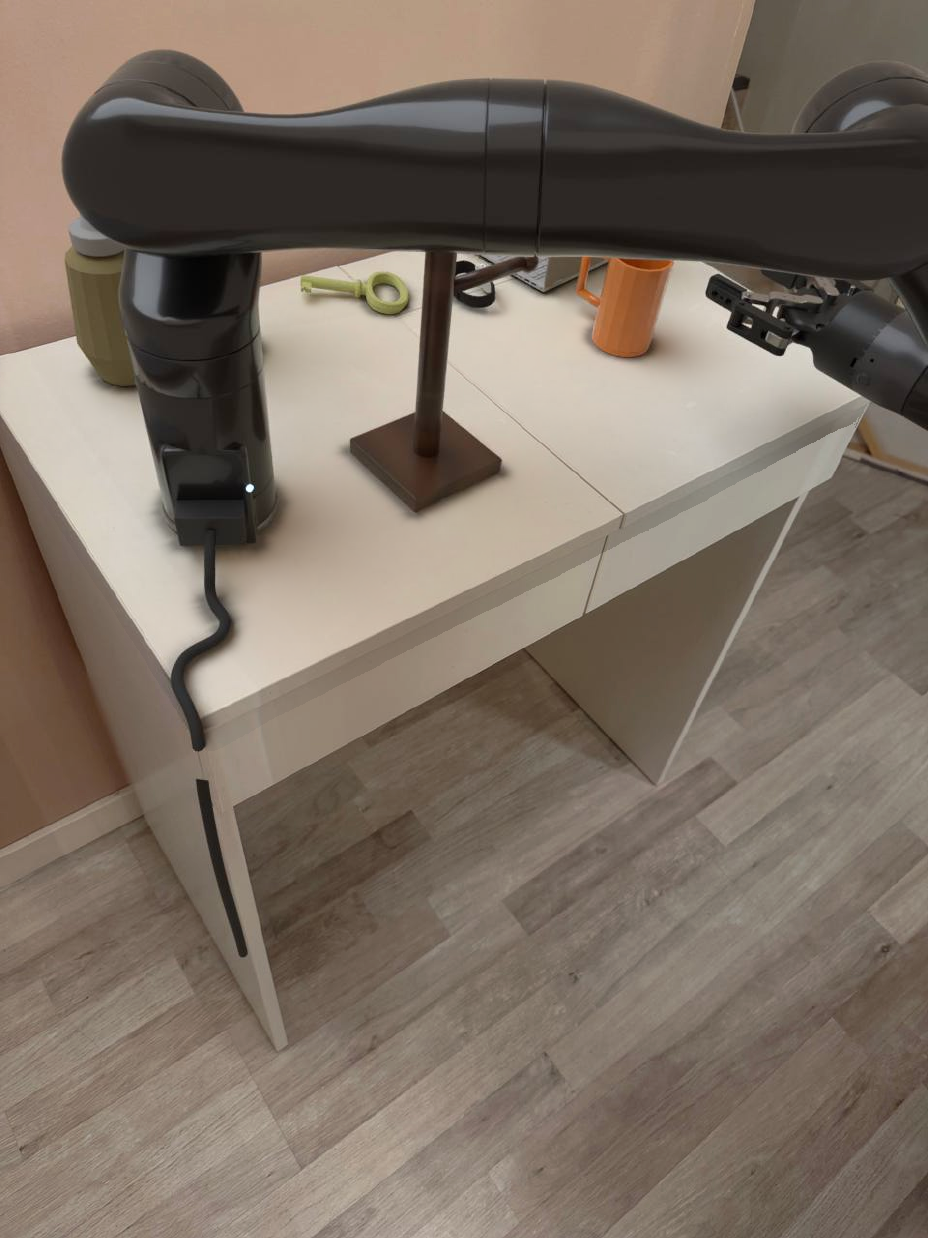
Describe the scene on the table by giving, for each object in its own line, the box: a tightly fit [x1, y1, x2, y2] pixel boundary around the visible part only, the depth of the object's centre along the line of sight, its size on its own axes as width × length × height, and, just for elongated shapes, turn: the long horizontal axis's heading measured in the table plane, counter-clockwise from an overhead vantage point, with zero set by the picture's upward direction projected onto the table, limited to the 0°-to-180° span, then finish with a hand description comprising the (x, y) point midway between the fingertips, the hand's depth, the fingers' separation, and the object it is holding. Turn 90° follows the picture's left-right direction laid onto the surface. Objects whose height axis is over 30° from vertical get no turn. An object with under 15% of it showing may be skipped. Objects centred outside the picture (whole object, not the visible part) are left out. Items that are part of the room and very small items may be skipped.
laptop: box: [480, 255, 608, 293], centre depth 105 cm, size 18×12×13 cm
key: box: [299, 270, 410, 315], centre depth 97 cm, size 7×12×2 cm, turn 113°
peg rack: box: [349, 252, 539, 513], centre depth 73 cm, size 16×10×24 cm, turn 130°
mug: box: [574, 257, 675, 358], centre depth 95 cm, size 11×6×10 cm, turn 40°
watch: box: [453, 259, 496, 309], centre depth 99 cm, size 8×5×4 cm, turn 29°
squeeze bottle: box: [64, 213, 137, 387], centre depth 78 cm, size 8×8×18 cm
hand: (738, 272), depth 82 cm, fingers open, 8 cm apart
